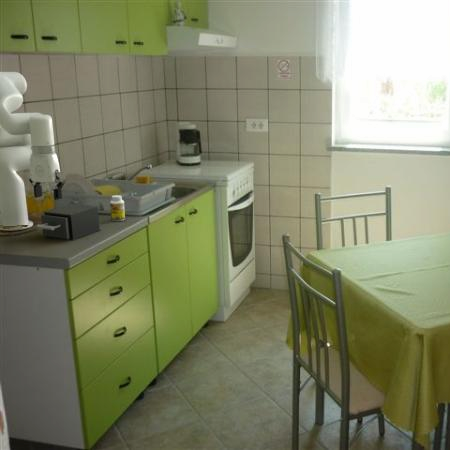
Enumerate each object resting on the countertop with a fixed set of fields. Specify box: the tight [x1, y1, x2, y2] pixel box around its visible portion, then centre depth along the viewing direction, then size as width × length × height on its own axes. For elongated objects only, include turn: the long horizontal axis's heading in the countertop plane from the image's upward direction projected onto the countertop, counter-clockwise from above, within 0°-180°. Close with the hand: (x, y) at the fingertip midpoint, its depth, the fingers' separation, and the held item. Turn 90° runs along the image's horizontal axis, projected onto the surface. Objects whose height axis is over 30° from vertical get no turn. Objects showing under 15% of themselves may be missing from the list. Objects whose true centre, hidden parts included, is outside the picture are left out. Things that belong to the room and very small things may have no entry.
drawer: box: [36, 214, 71, 240], centre depth 219 cm, size 18×11×8 cm, turn 159°
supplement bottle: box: [109, 194, 126, 222], centre depth 243 cm, size 6×6×10 cm
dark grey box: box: [43, 203, 100, 241], centre depth 224 cm, size 15×13×10 cm
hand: (48, 197), depth 211 cm, fingers open, 8 cm apart
